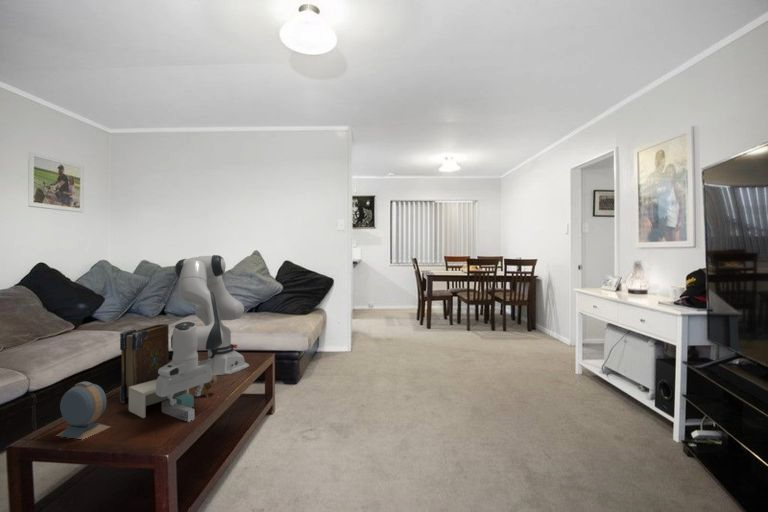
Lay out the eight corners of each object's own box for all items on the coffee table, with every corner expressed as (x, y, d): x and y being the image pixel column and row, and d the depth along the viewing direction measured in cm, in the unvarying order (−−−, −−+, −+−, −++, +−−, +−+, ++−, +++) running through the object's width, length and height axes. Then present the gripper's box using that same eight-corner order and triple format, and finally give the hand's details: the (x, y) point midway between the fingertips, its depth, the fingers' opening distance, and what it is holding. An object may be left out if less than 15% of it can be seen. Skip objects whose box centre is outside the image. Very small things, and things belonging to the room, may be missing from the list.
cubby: (174, 396, 160) (174, 374, 160) (189, 402, 153) (189, 379, 153) (128, 410, 145) (128, 386, 145) (142, 418, 138) (142, 393, 138)
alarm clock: (112, 427, 131) (112, 379, 131) (85, 440, 121) (85, 388, 121) (82, 423, 134) (82, 376, 134) (53, 436, 124) (53, 385, 125)
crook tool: (180, 405, 150) (180, 395, 150) (206, 414, 141) (206, 404, 141) (161, 412, 144) (161, 402, 144) (188, 422, 135) (188, 411, 135)
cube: (186, 405, 151) (186, 393, 151) (193, 407, 148) (193, 395, 148) (174, 409, 146) (174, 397, 146) (181, 412, 144) (181, 399, 144)
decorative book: (136, 403, 152) (136, 333, 152) (120, 402, 153) (120, 333, 153) (171, 383, 176) (171, 323, 176) (157, 383, 176) (157, 322, 176)
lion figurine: (217, 391, 165) (217, 372, 165) (217, 396, 160) (217, 376, 160) (181, 396, 159) (181, 376, 159) (179, 401, 155) (179, 380, 155)
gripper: (206, 356, 149) (206, 389, 149) (153, 370, 132) (153, 407, 132) (215, 359, 145) (215, 392, 146) (162, 374, 128) (162, 412, 128)
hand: (185, 400), depth 139 cm, fingers open, 8 cm apart
